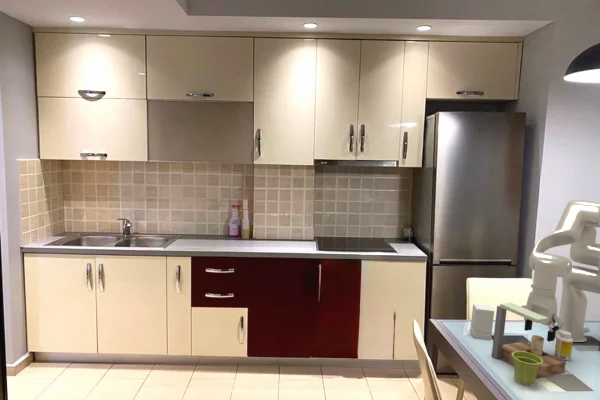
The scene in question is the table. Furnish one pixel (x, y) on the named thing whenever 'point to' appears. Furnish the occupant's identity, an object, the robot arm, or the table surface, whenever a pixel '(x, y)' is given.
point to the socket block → (550, 362)
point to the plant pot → (526, 367)
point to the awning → (501, 324)
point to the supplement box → (482, 321)
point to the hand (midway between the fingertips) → (538, 335)
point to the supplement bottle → (563, 345)
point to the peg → (537, 345)
